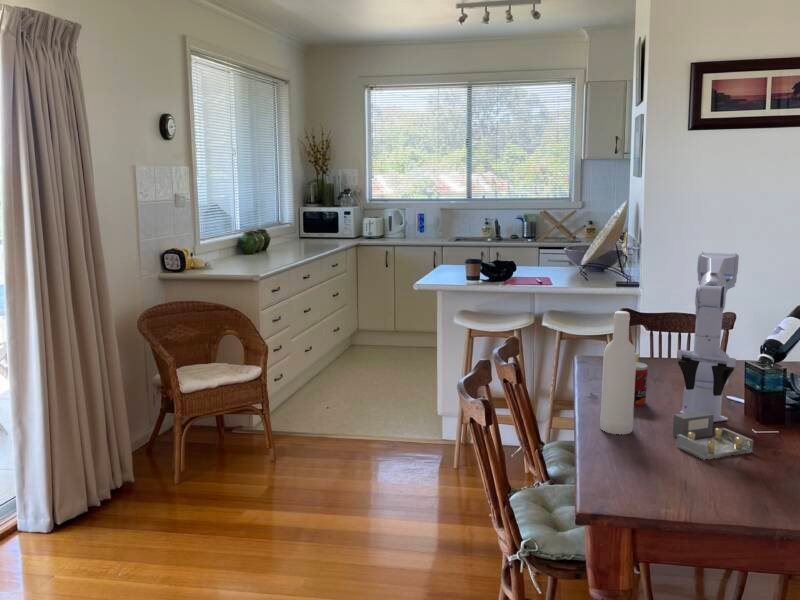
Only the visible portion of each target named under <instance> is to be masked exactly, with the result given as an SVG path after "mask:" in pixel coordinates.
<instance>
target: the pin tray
mask: <svg viewBox="0 0 800 600" xmlns="http://www.w3.org/2000/svg"><path fill="white" fill-rule="evenodd" d="M675 447H676V448H678V449H680V450H681V451H684V452H686V453H688V454H691V456H694V457H697V458H698V457H699V459H700V458H701V459H700V460H702V459H703V460H702V461H706V460H705V459H708V460H714V459H713V458H715V459H720V457H721V458H725V457H726V456H727V457H732V456H731V455H734V456H739V455H738V454H740V455H744V454H745V453H746V454H752V453H753V449H754V439H752V438H749V437H747V436H745V435H742V434H740V433H737V432H735V431H732V430H730V429H728V428H725V427H721V428H720V427H715V428H714V436H712V437H705V438H698V439H696V438H695V433H694V432H688V437H686V436H684V435H681V434H678V435H677V437H676V445H675ZM751 452H752V453H751Z"/></svg>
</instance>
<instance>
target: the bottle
mask: <svg viewBox="0 0 800 600" xmlns="http://www.w3.org/2000/svg"><path fill="white" fill-rule="evenodd" d="M630 320H631V315H630V312H628V311H626V310H624V311H623V310H617V311H615V312H614V314H613V330H612V331H613V332H612V333H613V336H612V340H611V341H609V343H607V344H606V346H605V349H604V351H603V359H602V360H603V361H602V364H603V365H602V378H601V379H602V382H601V403H600V415H599V417H600V418H599V422H600V423H599V429H600V430H601V431H602V430H603V431H602V432H604V431H605V432H604V433H606V432H607V434H610V433H611V434H610V435H616V434H619V435H621V434H622V435H621V436H623V435H624V436H625V435H629V434H631V433H632V432H633V426H634V407H635V406H634V391H635V373H636V353H637V351H636V349H635V345H633V344H632V343H631V342H630V340H629V334H630V332H629V331H630ZM619 435H618V436H619Z"/></svg>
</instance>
